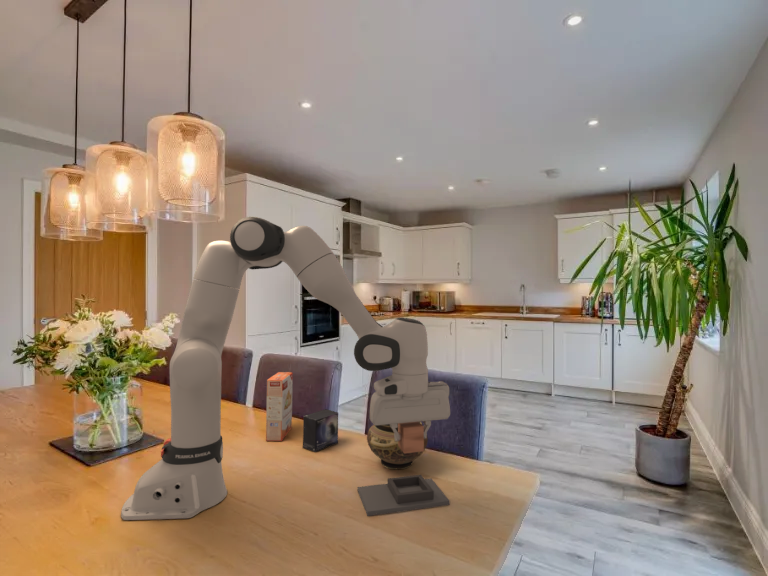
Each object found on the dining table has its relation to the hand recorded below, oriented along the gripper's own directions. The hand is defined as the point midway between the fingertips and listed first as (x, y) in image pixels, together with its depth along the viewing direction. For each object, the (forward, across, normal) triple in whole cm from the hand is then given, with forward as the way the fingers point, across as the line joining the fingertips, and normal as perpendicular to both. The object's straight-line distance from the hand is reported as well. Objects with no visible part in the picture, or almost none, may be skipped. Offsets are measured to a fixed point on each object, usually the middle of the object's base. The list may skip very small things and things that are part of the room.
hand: (410, 439), depth 101 cm
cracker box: (+14, +31, -53) cm, 63 cm away
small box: (+14, +18, -39) cm, 45 cm away
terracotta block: (+2, 0, 0) cm, 2 cm away
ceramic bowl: (+14, -2, -20) cm, 24 cm away
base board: (+14, +2, 0) cm, 14 cm away
